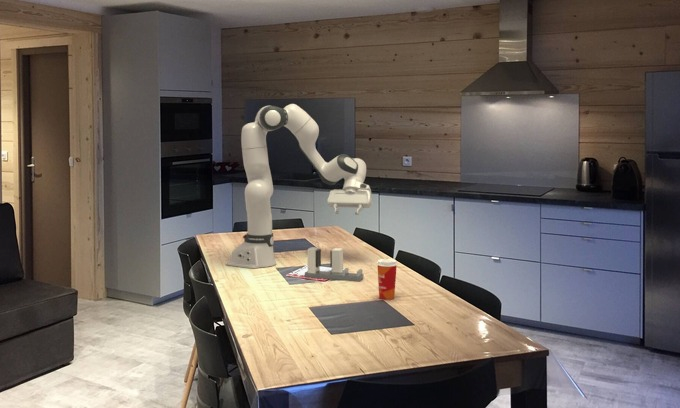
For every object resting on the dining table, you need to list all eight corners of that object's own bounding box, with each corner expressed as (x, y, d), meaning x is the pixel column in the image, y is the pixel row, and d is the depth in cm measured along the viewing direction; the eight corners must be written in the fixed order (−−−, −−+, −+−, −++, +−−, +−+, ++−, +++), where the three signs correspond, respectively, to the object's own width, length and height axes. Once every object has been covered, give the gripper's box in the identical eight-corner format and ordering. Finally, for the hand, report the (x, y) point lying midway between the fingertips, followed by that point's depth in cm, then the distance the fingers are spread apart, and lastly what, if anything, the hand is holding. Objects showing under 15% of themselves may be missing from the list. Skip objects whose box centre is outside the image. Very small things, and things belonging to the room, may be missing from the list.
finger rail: (304, 277, 280) (304, 249, 278) (308, 274, 284) (308, 246, 283) (360, 281, 273) (360, 252, 271) (363, 278, 277) (363, 250, 276)
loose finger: (330, 272, 288) (330, 250, 287) (333, 270, 293) (333, 247, 291) (339, 273, 287) (339, 250, 285) (343, 271, 291) (343, 248, 290)
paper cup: (375, 295, 252) (375, 258, 250) (395, 294, 253) (395, 258, 251) (377, 300, 244) (378, 263, 242) (398, 300, 245) (399, 262, 243)
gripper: (329, 184, 308) (322, 208, 300) (372, 185, 301) (366, 210, 294) (332, 193, 312) (326, 217, 304) (375, 194, 306) (369, 218, 298)
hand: (346, 213), depth 299 cm, fingers open, 8 cm apart
